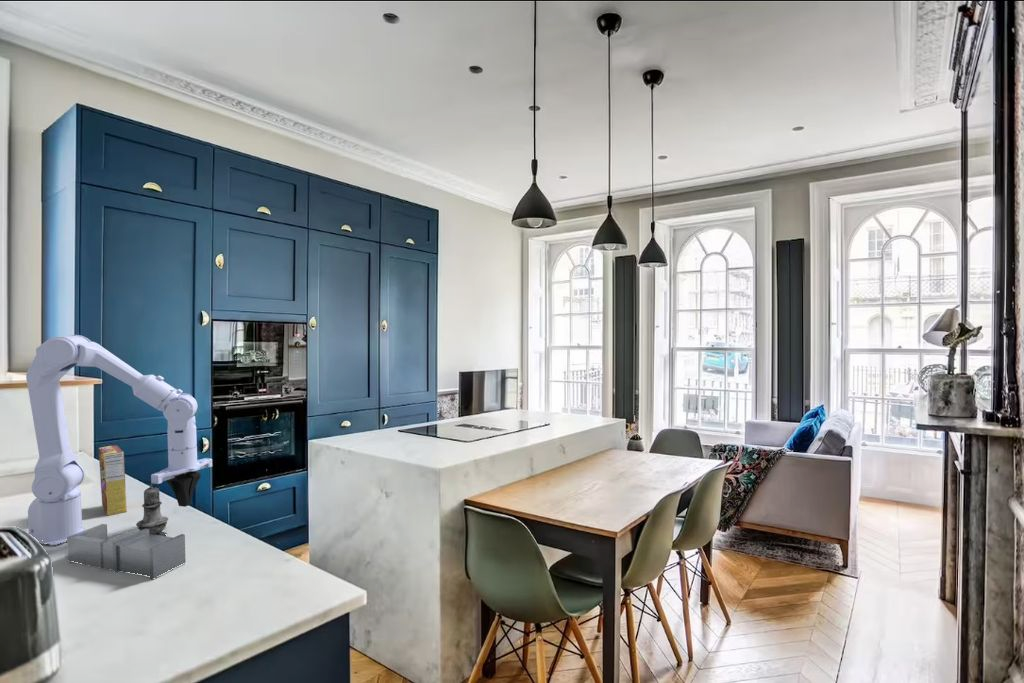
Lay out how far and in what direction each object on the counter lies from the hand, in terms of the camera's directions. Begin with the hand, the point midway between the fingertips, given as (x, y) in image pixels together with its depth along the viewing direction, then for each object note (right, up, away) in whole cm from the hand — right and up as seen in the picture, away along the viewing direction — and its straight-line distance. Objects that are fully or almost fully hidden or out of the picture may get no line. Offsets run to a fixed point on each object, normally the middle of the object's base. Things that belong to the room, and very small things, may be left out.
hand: (184, 505), depth 127 cm
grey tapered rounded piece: (-3, -5, -7) cm, 9 cm away
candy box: (-23, -4, +10) cm, 26 cm away
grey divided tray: (0, -5, -19) cm, 20 cm away
